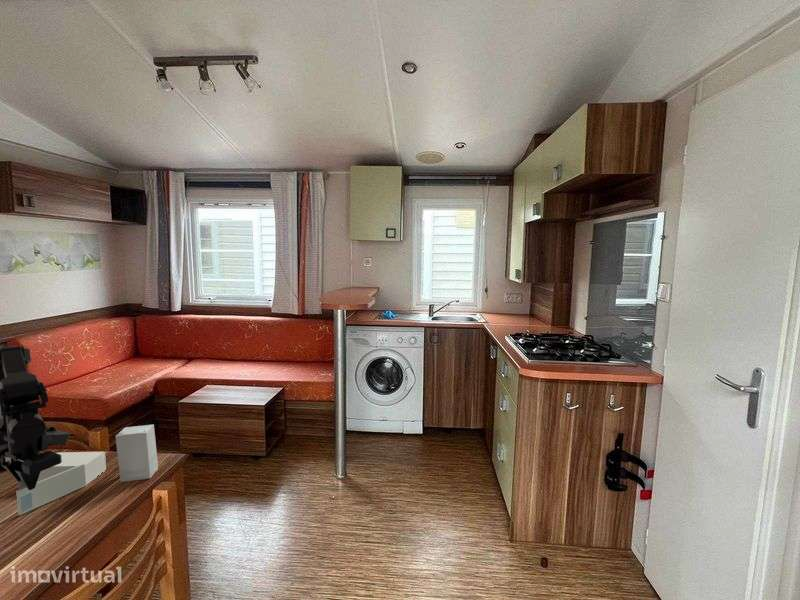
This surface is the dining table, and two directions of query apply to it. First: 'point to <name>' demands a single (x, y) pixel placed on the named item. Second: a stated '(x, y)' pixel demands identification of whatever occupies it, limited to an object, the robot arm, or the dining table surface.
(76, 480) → the pale grey panel
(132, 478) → the skincare box
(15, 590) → the dining table surface
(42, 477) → the carton
